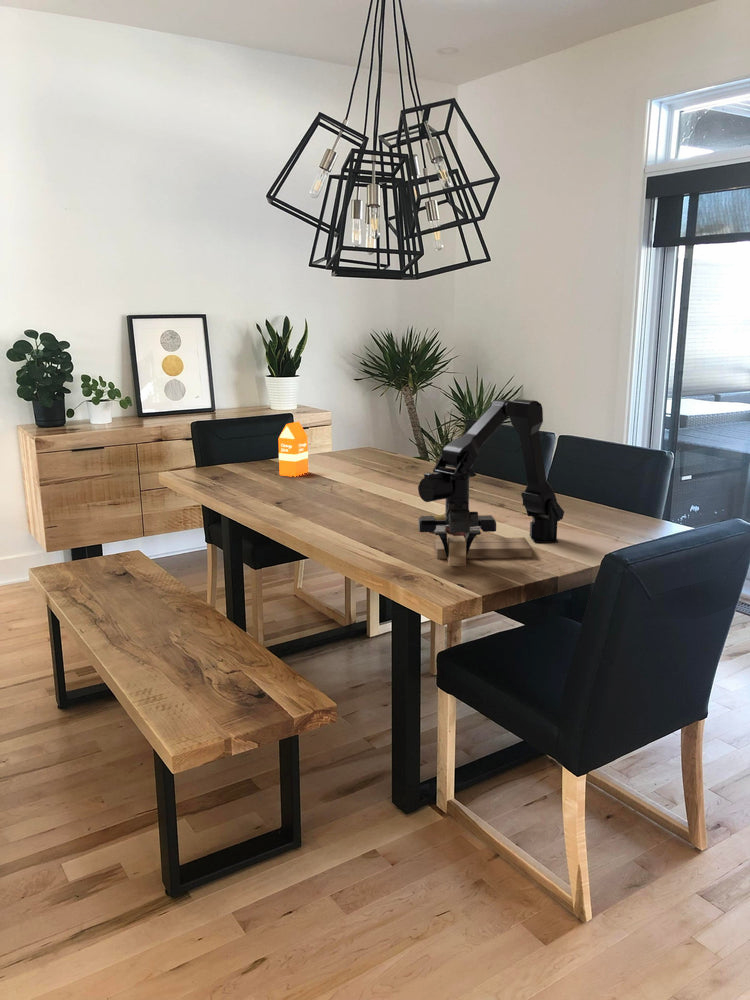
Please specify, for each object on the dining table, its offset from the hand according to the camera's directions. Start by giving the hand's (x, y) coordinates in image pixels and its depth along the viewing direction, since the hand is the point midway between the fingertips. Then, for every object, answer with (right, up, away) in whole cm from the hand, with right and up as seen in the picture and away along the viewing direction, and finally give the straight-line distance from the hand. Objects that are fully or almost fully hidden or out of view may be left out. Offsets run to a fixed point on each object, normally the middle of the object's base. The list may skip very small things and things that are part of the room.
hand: (456, 557), depth 201 cm
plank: (+7, +1, +8) cm, 11 cm away
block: (0, -1, +3) cm, 3 cm away
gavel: (+2, +4, +26) cm, 26 cm away
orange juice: (-52, +24, +113) cm, 127 cm away
